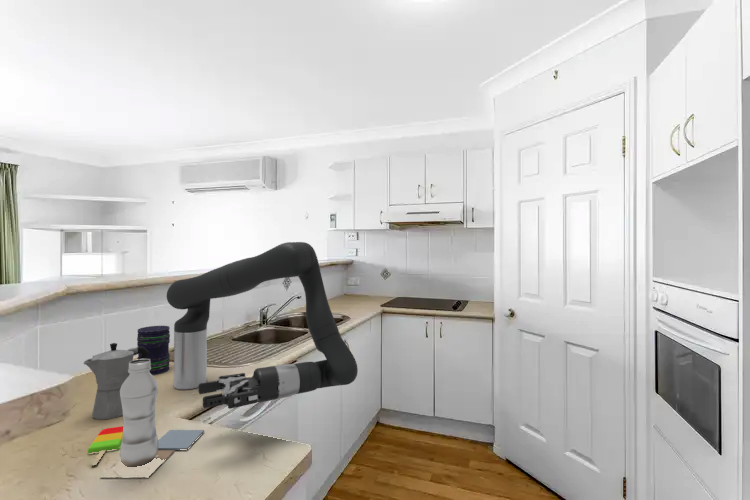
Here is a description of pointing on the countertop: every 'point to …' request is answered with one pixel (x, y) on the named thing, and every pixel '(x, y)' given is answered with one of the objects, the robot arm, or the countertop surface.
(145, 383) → the plastic bottle
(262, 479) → the countertop surface
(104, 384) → the coffeepot
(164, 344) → the storage jar
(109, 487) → the countertop surface
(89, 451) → the popsicle
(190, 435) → the slate pad
